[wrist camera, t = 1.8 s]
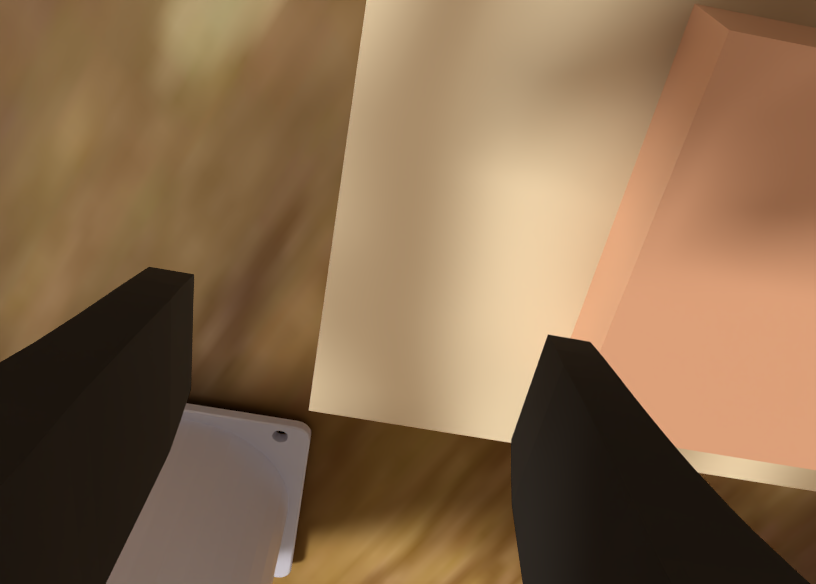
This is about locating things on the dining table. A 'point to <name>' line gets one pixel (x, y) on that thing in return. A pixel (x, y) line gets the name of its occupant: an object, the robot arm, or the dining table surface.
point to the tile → (720, 247)
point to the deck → (490, 200)
